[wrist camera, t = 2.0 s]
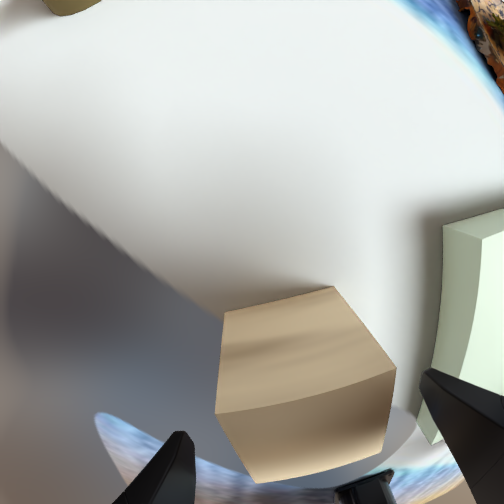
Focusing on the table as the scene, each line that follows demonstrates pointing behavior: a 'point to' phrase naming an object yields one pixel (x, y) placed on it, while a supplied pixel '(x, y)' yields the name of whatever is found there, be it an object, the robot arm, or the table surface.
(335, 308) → the birch block
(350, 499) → the robot arm
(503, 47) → the burger
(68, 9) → the cork
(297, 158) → the table surface
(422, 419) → the plinth
